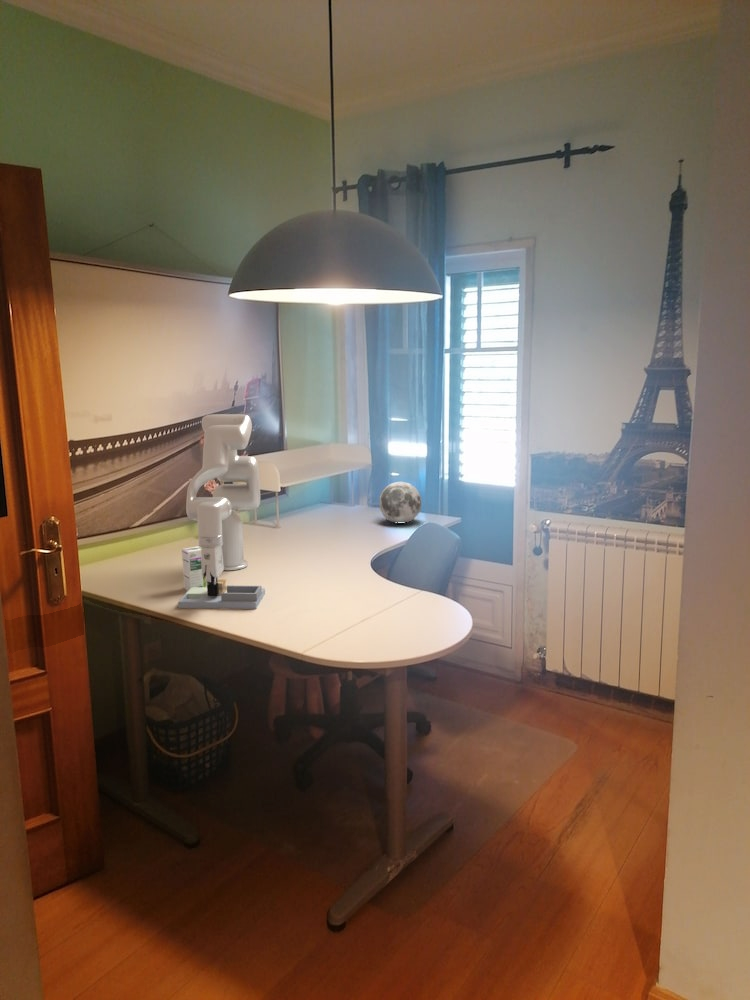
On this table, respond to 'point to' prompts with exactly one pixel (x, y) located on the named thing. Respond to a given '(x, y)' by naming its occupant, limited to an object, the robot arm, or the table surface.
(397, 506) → the moon model
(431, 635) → the table surface
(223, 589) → the block
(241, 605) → the grey sorting tray
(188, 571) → the syrup box
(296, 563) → the table surface
